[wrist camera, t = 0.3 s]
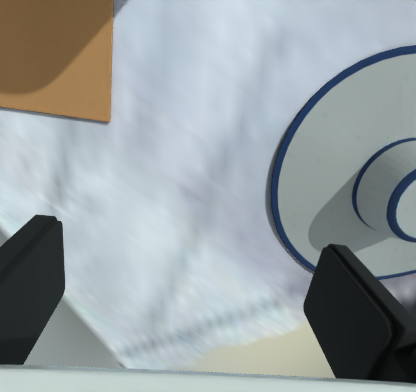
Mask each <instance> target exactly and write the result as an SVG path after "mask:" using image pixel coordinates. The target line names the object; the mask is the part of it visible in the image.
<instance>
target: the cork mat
mask: <svg viewBox="0 0 416 392" xmlns="http://www.w3.org/2000/svg"><path fill="white" fill-rule="evenodd" d="M112 38H113V0H0V107H7V108H14V109H21V110H28V111H35V112H42V113H49V114H56V115H63V116H70V117H78V118H85V119H92V120H99V121H106V122H110V113H111V76H112Z"/></svg>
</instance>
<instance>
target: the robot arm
mask: <svg viewBox="0 0 416 392" xmlns="http://www.w3.org/2000/svg"><path fill="white" fill-rule="evenodd" d="M64 290H65V271H64V249H63V227H62V222H61V221H57V218H56V217H55V216H46V215H35V216H34V217H33V218H32V219H31V220H30V221H28V222H27V223H26V224H25V225H24V226H23V227H22V228H21V229H20V230H18V231H17V232H16V233H15V234H14V235H13V236H12V237H11V238H10V239H9V240H7V241H6V242H5V243H4V244H3V245H2V246H1V247H0V392H416V320H415V319H414V318H413V317H412V316H411V315H410V314H409V313H408V312H407V310H406V309H405V308H404V307H403V306H402V305H401V304H400V303H399V302H398V301H397V300H396V299H395V298H394V296H393V295H392V294H391V293H390V292H389V291H388V290H387V289H386V288H385V287H384V286H383V285H382V283H381V282H380V281H379V280H378V279H377V278H376V277H375V276H374V275H373V274H372V273H371V272H370V270H369V269H368V268H367V267H366V266H365V265H364V264H363V263H362V262H361V261H360V260H359V259H358V257H357V256H356V255H355V254H354V253H353V252H352V251H351V250H350V249H349V248H348V247H347V246H346V245H339V244H328V246H327V247H324V248H323V249H322V251H321V254H320V257H319V260H318V263H317V266H316V269H315V272H314V275H313V278H312V281H311V284H310V287H309V290H308V293H307V296H306V299H305V301H304V313H305V315H306V317H307V320H308V322H309V324H310V326H311V328H312V330H313V332H314V334H315V336H316V338H317V340H318V342H319V344H320V346H321V348H322V351H323V353H324V354H325V357H326V359H327V361H328V363H329V365H330V367H331V369H332V371H333V373H334V375H335V377H336V378H317V377H299V376H298V377H297V376H280V375H260V374H237V373H216V372H194V371H173V370H149V369H124V368H99V367H73V366H43V365H23V364H24V362H25V361H26V359H27V357H28V355H29V354H30V352H31V350H32V348H33V347H34V345H35V343H36V341H37V340H38V338H39V336H40V335H41V333H42V331H43V329H44V328H45V326H46V324H47V322H48V321H49V319H50V317H51V315H52V314H53V312H54V310H55V308H56V307H57V305H58V303H59V301H60V300H61V298H62V296H63V294H64Z"/></svg>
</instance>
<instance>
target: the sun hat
mask: <svg viewBox="0 0 416 392" xmlns="http://www.w3.org/2000/svg"><path fill="white" fill-rule="evenodd" d="M271 205H272V212H273V217H274V222H275V225H276V227H277V230H278V233H279V235H280V237H281V239H282V240H283V242H284V244H285V245H286V247H287V248H288V249H289V250H290V252H291V253H292V254H293V255H294V256H295V257H296V258H297V259H298V260H299V261H300V262H301V263H303V264H304V265H305V266H307V267H308V268H309V269H311V270H313V271H314V272H315V269H316V266H317V263H318V260H319V257H320V254H321V251H322V249H323V248H324V247H327V246H328V244H339V245H346V246H347V247H348V248H349V249H350V250H351V251H352V252H353V253H354V254H355V255H356V256H357V257H358V259H359V260H360V261H361V262H362V263H363V264H364V265H365V266H366V267H367V268H368V269H369V270H370V272H371V273H372V274H373V275H374V276H375V277H376V278H377V279H378V280H381V279H388V278H394V277H400V276H404V275H409V274H413V273H416V45H414V46H406V47H400V48H396V49H392V50H389V51H385V52H381V53H379V54H376V55H374V56H371V57H369V58H366V59H364V60H362V61H360V62H358V63H356V64H354V65H353V66H351V67H349V68H347V69H346V70H344V71H342V72H341V73H340V74H338V75H337V76H336V77H334V78H333V79H332V80H330V81H329V82H327V83H326V84H325V85H324V86H323V87H322V88H321V89H320V90H319V91H318V92H317V93H316V94H315V95H314V96H313V97H312V98H311V99H310V100H309V102H308V103H307V104H306V105H305V106H304V108H303V109H302V110H301V111H300V113H299V114H298V116H297V117H296V119H295V121H294V122H293V124H292V125H291V127H290V129H289V131H288V133H287V135H286V137H285V139H284V141H283V143H282V145H281V148H280V150H279V153H278V156H277V159H276V162H275V167H274V171H273V176H272V186H271Z"/></svg>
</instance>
